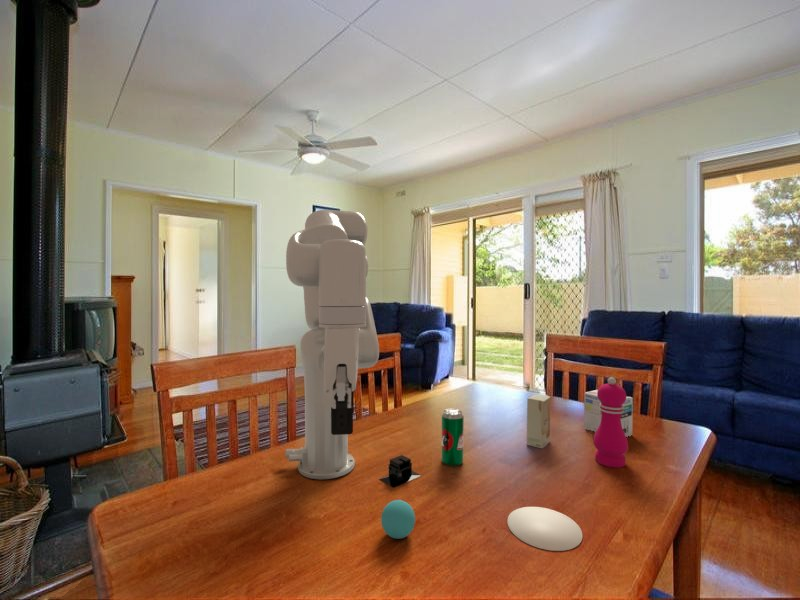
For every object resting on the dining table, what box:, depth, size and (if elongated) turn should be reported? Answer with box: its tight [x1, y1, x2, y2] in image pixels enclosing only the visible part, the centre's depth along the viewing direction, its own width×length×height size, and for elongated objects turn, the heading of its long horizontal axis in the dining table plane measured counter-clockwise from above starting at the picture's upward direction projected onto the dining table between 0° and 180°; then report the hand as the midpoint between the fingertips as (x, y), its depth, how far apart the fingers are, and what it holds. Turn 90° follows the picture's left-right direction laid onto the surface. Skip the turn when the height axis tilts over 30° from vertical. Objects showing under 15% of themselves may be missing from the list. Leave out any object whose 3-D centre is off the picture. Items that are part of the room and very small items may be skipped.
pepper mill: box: [592, 376, 629, 469], centre depth 93 cm, size 7×7×20 cm
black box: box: [378, 454, 422, 489], centre depth 85 cm, size 12×7×5 cm, turn 133°
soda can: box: [441, 408, 465, 467], centre depth 92 cm, size 5×5×12 cm
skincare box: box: [526, 393, 552, 449], centre depth 104 cm, size 6×4×12 cm
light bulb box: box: [583, 389, 634, 438], centre depth 112 cm, size 11×7×11 cm, turn 34°
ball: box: [380, 499, 416, 540], centre depth 65 cm, size 6×6×6 cm
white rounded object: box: [506, 506, 583, 552], centre depth 68 cm, size 12×12×1 cm
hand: (343, 423), depth 64 cm, fingers open, 9 cm apart
